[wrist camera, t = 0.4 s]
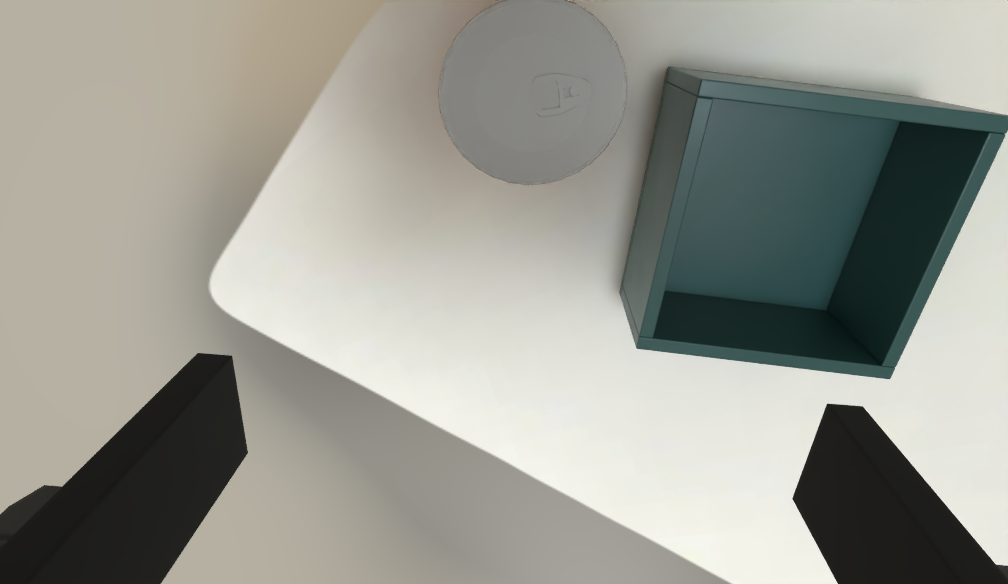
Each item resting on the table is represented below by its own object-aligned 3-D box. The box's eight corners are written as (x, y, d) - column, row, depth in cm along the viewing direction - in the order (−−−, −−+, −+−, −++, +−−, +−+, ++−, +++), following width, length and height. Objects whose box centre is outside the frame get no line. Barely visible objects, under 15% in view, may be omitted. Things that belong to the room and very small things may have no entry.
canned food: (620, 107, 35) (653, 142, 25) (498, 161, 36) (484, 214, 26) (572, -26, 32) (588, -47, 22) (443, 40, 34) (404, 49, 24)
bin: (668, 66, 34) (701, 78, 27) (918, 97, 34) (1015, 116, 27) (619, 292, 40) (636, 349, 33) (830, 318, 40) (890, 379, 33)
